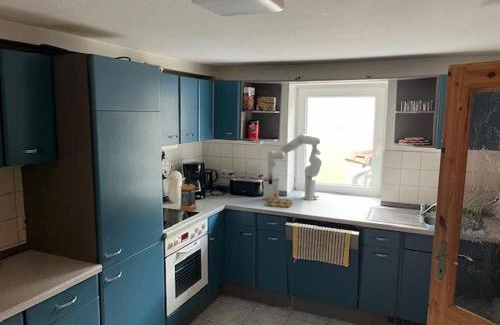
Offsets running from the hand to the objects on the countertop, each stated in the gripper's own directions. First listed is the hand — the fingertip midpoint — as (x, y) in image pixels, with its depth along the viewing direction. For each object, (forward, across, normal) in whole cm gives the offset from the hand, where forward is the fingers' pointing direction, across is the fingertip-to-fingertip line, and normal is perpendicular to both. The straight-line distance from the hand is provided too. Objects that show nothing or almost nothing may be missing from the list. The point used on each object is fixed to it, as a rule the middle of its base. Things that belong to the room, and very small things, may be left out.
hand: (271, 183), depth 345 cm
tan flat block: (+15, +19, +12) cm, 27 cm away
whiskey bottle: (+15, +60, -56) cm, 84 cm away
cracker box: (+15, 0, 0) cm, 15 cm away
